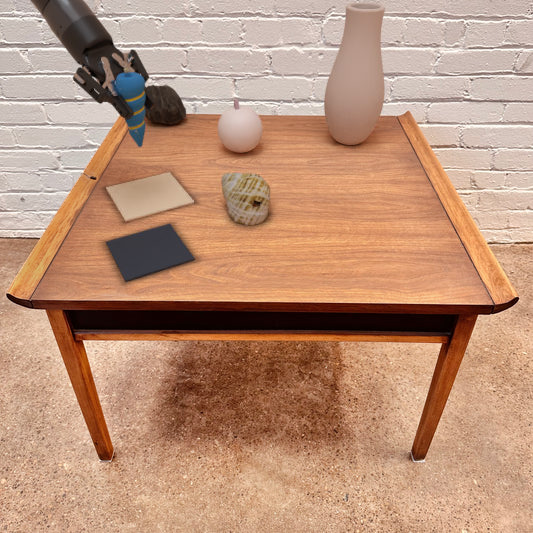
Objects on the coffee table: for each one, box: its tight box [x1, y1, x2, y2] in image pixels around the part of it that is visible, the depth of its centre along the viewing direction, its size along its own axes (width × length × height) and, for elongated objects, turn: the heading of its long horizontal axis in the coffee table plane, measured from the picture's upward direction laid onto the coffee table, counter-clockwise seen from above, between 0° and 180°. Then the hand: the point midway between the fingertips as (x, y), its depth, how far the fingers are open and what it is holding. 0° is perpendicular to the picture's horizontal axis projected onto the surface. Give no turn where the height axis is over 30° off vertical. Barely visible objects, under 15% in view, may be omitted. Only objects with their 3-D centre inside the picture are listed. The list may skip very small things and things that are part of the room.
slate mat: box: [105, 223, 196, 283], centre depth 83 cm, size 12×12×1 cm
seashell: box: [220, 172, 271, 226], centre depth 92 cm, size 10×10×10 cm
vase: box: [323, 1, 386, 146], centre depth 110 cm, size 14×14×30 cm
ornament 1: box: [115, 65, 146, 148], centre depth 86 cm, size 5×5×15 cm
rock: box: [144, 84, 187, 125], centre depth 125 cm, size 10×11×10 cm
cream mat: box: [105, 171, 195, 223], centre depth 98 cm, size 14×14×1 cm
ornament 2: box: [217, 98, 264, 154], centre depth 111 cm, size 10×10×12 cm
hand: (141, 111), depth 85 cm, fingers closed on ornament 1, 5 cm apart
